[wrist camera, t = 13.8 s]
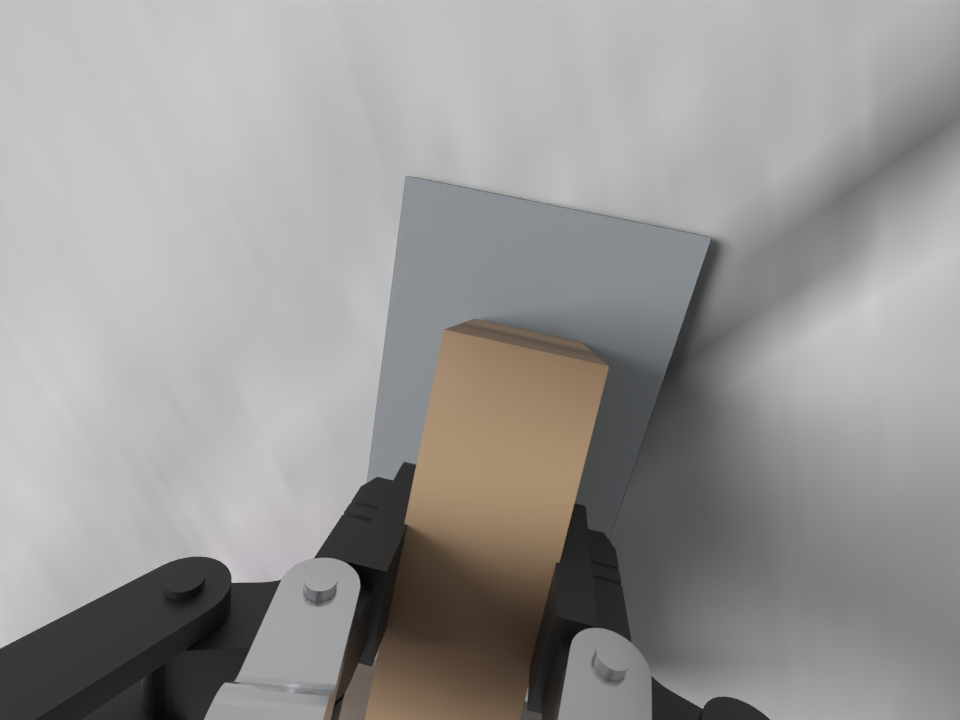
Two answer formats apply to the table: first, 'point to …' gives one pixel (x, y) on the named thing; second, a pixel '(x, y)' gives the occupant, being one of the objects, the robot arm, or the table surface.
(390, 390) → the mat
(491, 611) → the upright plank on base
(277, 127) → the table surface
